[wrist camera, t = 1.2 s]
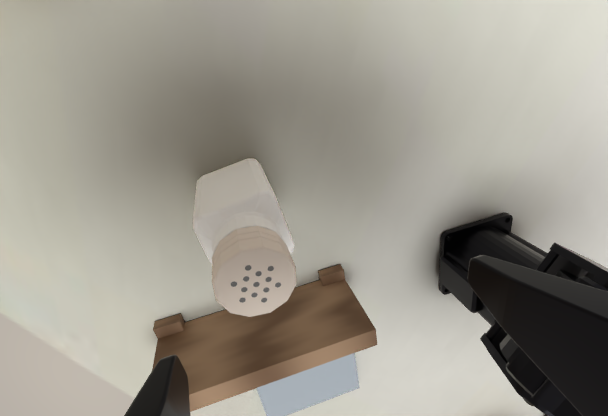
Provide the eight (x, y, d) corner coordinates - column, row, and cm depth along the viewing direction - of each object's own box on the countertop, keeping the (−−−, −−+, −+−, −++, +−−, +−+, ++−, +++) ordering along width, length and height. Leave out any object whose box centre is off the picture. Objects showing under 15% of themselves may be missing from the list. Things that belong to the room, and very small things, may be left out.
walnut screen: (339, 264, 25) (374, 319, 20) (344, 295, 26) (377, 354, 21) (154, 321, 23) (138, 400, 18) (170, 351, 24) (160, 433, 19)
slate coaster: (347, 316, 28) (350, 321, 27) (356, 382, 32) (359, 387, 31) (244, 351, 26) (244, 357, 26) (268, 415, 30) (269, 422, 30)
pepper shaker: (276, 206, 22) (319, 300, 13) (220, 229, 21) (227, 340, 13) (255, 152, 20) (289, 221, 11) (192, 175, 19) (180, 265, 11)
